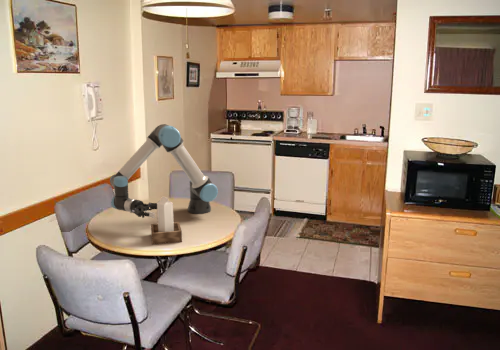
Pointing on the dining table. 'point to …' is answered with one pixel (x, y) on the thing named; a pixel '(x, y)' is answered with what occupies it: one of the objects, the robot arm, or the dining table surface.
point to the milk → (165, 215)
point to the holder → (166, 234)
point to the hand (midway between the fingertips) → (163, 212)
